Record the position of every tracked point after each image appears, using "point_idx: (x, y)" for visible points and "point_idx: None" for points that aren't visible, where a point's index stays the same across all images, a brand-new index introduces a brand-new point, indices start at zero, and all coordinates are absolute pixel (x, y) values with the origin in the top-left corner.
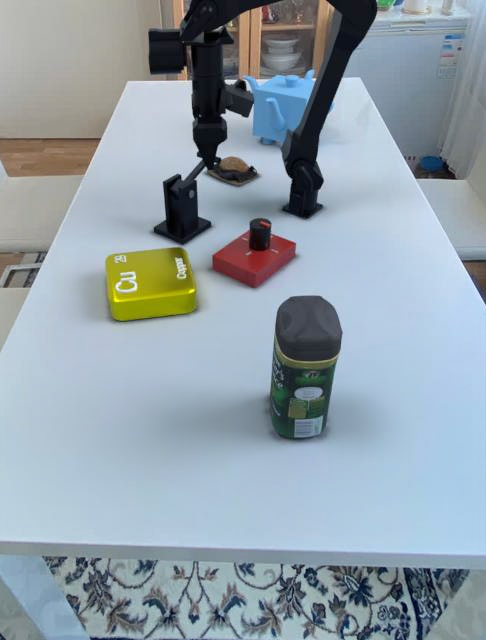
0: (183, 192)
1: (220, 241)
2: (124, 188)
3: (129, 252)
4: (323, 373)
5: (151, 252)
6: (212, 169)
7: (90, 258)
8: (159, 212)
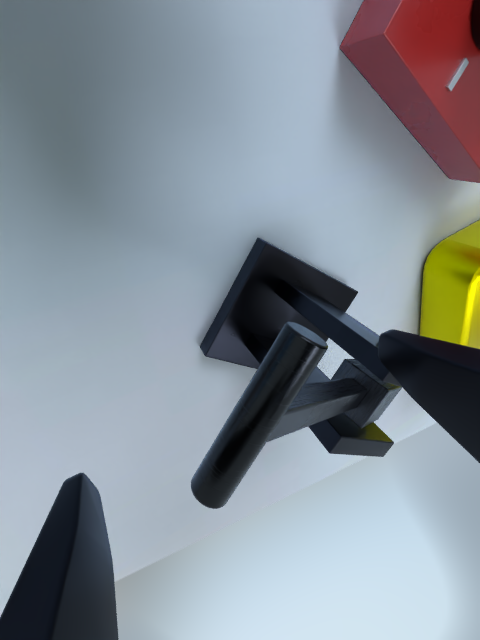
0: None
1: (337, 184)
2: None
3: None
4: None
5: (476, 327)
6: (394, 331)
7: None
8: (195, 405)
